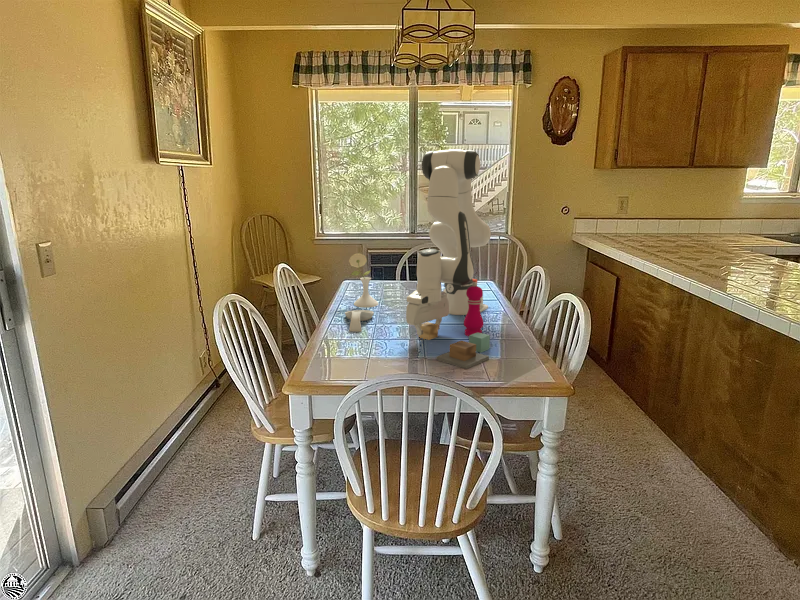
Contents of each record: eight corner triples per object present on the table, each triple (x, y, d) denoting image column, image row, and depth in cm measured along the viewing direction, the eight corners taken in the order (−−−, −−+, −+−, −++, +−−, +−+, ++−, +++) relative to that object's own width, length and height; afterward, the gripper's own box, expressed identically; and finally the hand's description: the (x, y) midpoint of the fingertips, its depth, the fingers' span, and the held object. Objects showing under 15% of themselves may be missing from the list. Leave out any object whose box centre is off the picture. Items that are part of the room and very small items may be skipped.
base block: (460, 352, 166) (461, 340, 165) (475, 356, 162) (476, 344, 161) (449, 356, 162) (449, 344, 161) (464, 361, 158) (464, 348, 157)
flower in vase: (380, 305, 231) (379, 251, 226) (376, 311, 220) (376, 255, 215) (352, 305, 233) (350, 251, 227) (347, 311, 222) (345, 254, 216)
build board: (458, 350, 170) (459, 347, 170) (488, 359, 162) (489, 356, 162) (436, 359, 162) (436, 356, 162) (466, 369, 154) (466, 365, 154)
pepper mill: (479, 331, 192) (481, 279, 187) (485, 337, 185) (487, 283, 180) (461, 332, 190) (462, 280, 186) (466, 338, 184) (468, 284, 179)
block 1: (427, 334, 188) (427, 322, 187) (437, 337, 185) (438, 324, 183) (418, 337, 184) (418, 324, 183) (429, 340, 181) (429, 327, 180)
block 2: (477, 346, 175) (477, 332, 174) (489, 349, 172) (489, 335, 171) (468, 349, 172) (469, 335, 171) (480, 352, 168) (481, 338, 167)
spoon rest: (346, 317, 213) (346, 301, 211) (374, 317, 213) (374, 301, 211) (340, 334, 190) (340, 316, 188) (371, 334, 190) (371, 315, 188)
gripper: (440, 289, 190) (439, 324, 193) (403, 298, 176) (403, 336, 179) (453, 291, 186) (452, 327, 189) (416, 301, 171) (416, 340, 175)
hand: (428, 332), depth 184 cm, fingers open, 8 cm apart
